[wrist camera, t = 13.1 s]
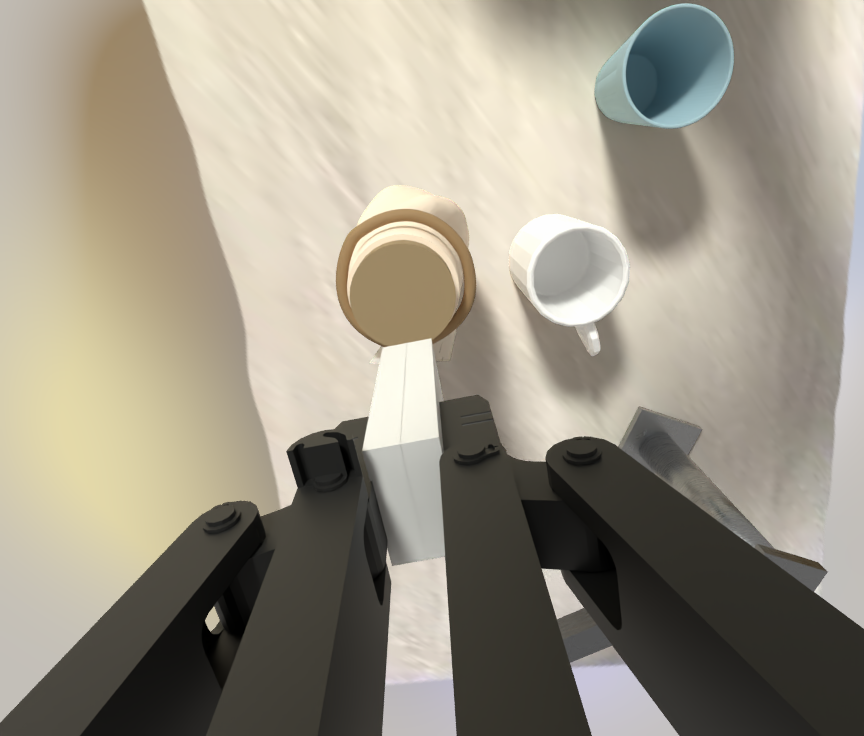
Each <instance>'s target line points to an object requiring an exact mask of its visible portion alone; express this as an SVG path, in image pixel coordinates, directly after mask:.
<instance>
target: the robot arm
mask: <svg viewBox="0 0 864 736" xmlns="http://www.w3.org/2000/svg"><path fill="white" fill-rule="evenodd" d="M286 452H287V455H288V458H289V461H290V465H291V468H292V471H293V474H294V477H295V480H296V484H297V487H298V489H297V491H296V494H295V497H294V499H293V502H292V505H290V506H288V507H285V508H283V509H281V510H278V511H275V512H272V513H270V514H267V515H264V516H261V517H260V514H259V511H258V509H257V506H256V505H255V504H253V503H251V502H248V501H236V502H227V503H223V504H222V505H218V506H215V507H213V508H212V509H211V510H209V511H207V512H206V513H204V514H202V515H201V516H200V517H199V518H197V519H196V520H195V521H194V522H192V524H191V525H190V526H189V527H188V528H187V529H186V530H185V531H184V532H183V533H182V534H181V535H180V536H179V537H178V538H177V539H176V540H175V541H174V542H173V543H172V544H171V546H169V547H168V549H167V550H166V551H165V552H164V553H163V554H162V555H161V556H160V557H159V558H158V559H157V560H156V561H155V562H154V563H153V564H152V565H151V566H150V567H149V568H148V569H147V570H146V571H145V573H144V574H143V575H142V576H141V577H140V578H139V579H138V580H137V581H136V582H135V583H134V584H133V585H132V586H131V587H130V588H129V589H128V590H127V591H126V592H125V593H124V594H123V596H122V597H121V598H120V599H119V600H118V601H117V602H116V603H115V604H114V605H113V606H112V607H111V608H110V609H109V610H108V611H107V612H106V613H105V614H104V615H103V616H102V617H101V618H100V619H99V620H98V622H97V623H96V624H95V625H94V626H93V627H92V628H91V629H90V630H89V631H88V632H87V633H86V634H85V635H84V636H83V637H82V638H81V639H80V640H79V641H78V642H77V644H75V645H74V647H73V648H72V649H71V650H70V651H69V652H68V653H67V654H66V655H65V656H64V657H63V658H62V659H61V660H60V661H59V662H58V663H57V664H56V665H55V667H54V668H52V669H51V670H50V672H49V673H48V674H47V675H46V676H45V677H44V678H43V679H42V680H41V681H40V682H39V683H38V684H37V685H36V686H35V687H34V688H33V689H32V690H31V691H30V692H29V693H28V695H27V696H26V697H25V698H24V699H23V700H22V701H21V702H20V703H19V704H18V705H17V706H16V707H15V708H14V709H13V710H12V711H11V712H10V713H9V714H8V715H7V716H6V717H5V718H4V720H3V721H2V722H1V723H0V736H382V724H383V708H384V692H385V676H386V659H387V643H388V627H389V611H390V594H391V579H390V575H389V571H388V567H387V564H386V554H387V548H388V552H389V556H390V560H391V563H392V566H394V565H400V564H405V563H411V562H417V561H423V560H428V559H434V558H440V557H445V561H446V576H447V592H448V607H449V623H450V638H451V654H452V669H453V683H454V700H455V716H456V731H457V736H592V735H591V732H590V728H589V725H588V722H587V718H586V715H585V712H584V708H583V705H582V702H581V698H580V695H579V692H578V689H577V685H576V682H575V678H574V675H573V672H572V668H571V665H570V662H569V659H568V655H567V652H566V649H565V645H564V642H563V639H562V635H561V632H560V629H559V625H558V622H557V619H556V615H555V612H554V609H553V605H552V602H551V599H550V595H549V592H548V589H547V585H546V582H545V579H544V576H543V572H542V569H541V568H543V569H558V570H561V573H562V576H563V578H564V580H565V582H566V584H567V585H568V586H569V588H570V589H571V590H572V592H573V593H574V594H575V596H576V597H577V599H578V600H579V601H580V603H581V604H582V605H583V607H584V608H585V609H586V611H587V612H588V613H589V615H590V616H591V617H592V619H593V620H594V621H595V623H596V624H597V625H598V627H599V628H600V629H601V631H602V632H603V634H604V635H605V636H606V638H607V639H608V640H609V642H610V643H611V644H612V646H613V647H614V648H615V650H616V651H617V652H618V654H619V655H620V656H621V658H622V659H623V660H624V662H625V663H626V664H627V666H628V667H629V668H630V670H631V671H632V673H633V674H634V675H635V676H636V678H637V679H638V681H639V682H640V683H641V685H642V686H643V687H644V688H645V690H646V691H647V693H648V694H649V695H650V697H651V698H652V699H653V701H654V702H655V703H656V705H657V706H658V708H659V709H660V710H661V712H662V713H663V714H664V716H665V717H666V718H667V720H668V721H669V722H670V724H671V725H672V726H673V728H674V729H675V730H676V732H677V733H678V734H679V736H864V629H863V628H862V627H860V626H859V625H858V624H856V623H855V622H854V621H852V620H851V619H850V618H848V617H847V616H846V615H844V614H843V613H842V612H840V611H839V610H838V609H836V608H835V607H833V606H832V605H831V604H829V603H828V602H827V601H825V600H824V599H823V598H821V597H820V596H819V595H817V594H816V593H815V592H813V591H812V590H811V589H809V588H808V587H806V586H805V585H804V584H802V583H801V582H800V581H798V580H797V579H796V578H794V577H793V576H792V575H790V574H789V573H788V572H786V571H785V570H784V569H782V568H781V567H779V566H778V565H777V564H775V563H774V562H773V561H771V560H770V559H769V558H767V557H766V556H765V555H763V554H762V553H761V552H759V551H758V550H756V549H755V548H754V547H752V546H751V545H750V544H748V543H747V542H746V541H744V540H743V539H742V538H740V537H739V536H738V535H736V534H735V533H734V532H732V531H731V530H729V529H728V528H727V527H725V526H724V525H723V524H721V523H720V522H719V521H717V520H716V519H715V518H713V517H712V516H711V515H709V514H708V513H707V512H705V511H704V510H702V509H701V508H700V507H698V506H697V505H696V504H694V503H693V502H692V501H690V500H689V499H688V498H686V497H685V496H684V495H682V494H681V493H679V492H678V491H677V490H675V489H674V488H673V487H671V486H670V485H669V484H667V483H666V482H665V481H663V480H662V479H661V478H659V477H658V476H657V475H655V474H654V473H652V472H651V471H650V470H648V469H647V468H646V467H644V466H643V465H642V464H640V463H639V462H638V461H636V460H635V459H634V458H632V457H631V456H630V455H628V454H627V453H625V452H624V451H623V450H621V449H620V448H619V447H617V446H616V445H615V444H613V443H611V442H609V441H607V440H604V439H599V438H594V437H585V436H584V437H575V438H573V439H568V440H564V441H562V442H559V443H557V444H555V445H554V446H552V447H551V448H550V449H549V450H548V451H547V454H546V462H532V461H523V460H518V459H515V458H513V457H511V456H509V455H508V454H507V453H506V450H505V448H504V447H503V446H502V444H501V443H500V440H499V436H498V433H497V429H496V426H495V423H494V420H493V416H492V413H491V409H490V406H489V402H488V401H487V400H485V399H483V398H482V397H480V396H479V395H475V396H469V397H464V398H459V399H453V400H448V401H444V399H443V394H442V389H441V384H440V379H439V374H438V369H437V364H436V359H435V354H434V349H433V344H432V339H431V338H430V339H425V340H420V341H415V342H409V343H404V344H399V345H394V346H388V347H383V348H382V353H381V358H380V363H379V368H378V373H377V378H376V383H375V388H374V393H373V398H372V403H371V408H370V413H369V417H364V418H359V419H354V420H348V421H343V422H341V423H340V424H339V425H338V426H337V427H336V428H335V429H333V430H324V431H320V432H317V433H313V434H310V435H308V436H306V437H304V438H301V439H300V440H298V441H297V442H295V443H294V444H292V445H291V446H290V448H289V449H288V450H287V451H286ZM213 606H214V607H215V609H216V612H217V614H218V617H219V619H220V622H219V623H218V624H217V626H216V627H215V628H214V629H213V630H212V631H211V632H210V631H209V629H208V627H207V625H206V623H205V619H206V617H207V615H208V613H209V612H210V610H211V609H212V608H213Z"/></svg>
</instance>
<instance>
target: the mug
mask: <svg viewBox="0 0 864 736" xmlns="http://www.w3.org/2000/svg"><path fill="white" fill-rule="evenodd" d="M509 270H510V273H511V275H512V278H513V281H514V282H515V283H516V285H517V286H518V287H519V289H520V290H521V291H522V292H523V294H524V295H525V296H526V297H527V298H528V300H529V301H530V302H531V303H532V304H533V305H534V307H535V308H536V309H537V310H538V311H539V313H540V314H541V315H542V316H544V317H546V318H547V319H549V320H550V321H552V322H553V323H556V324H560V325H564V326H567V327H574V326H575V328H576V330H577V333H578V335H579V337H580V339H581V340H582V342H583V344H584V346H585V348H586V349H587V351H588V352H589V354H590V355H591V356H594V355H597V354H598V353H599V352H600V340H599V335H598V331H597V328H596V326H595V323H594V322H596V321H599V320H601V319H602V318H604V317H605V316H606V315H608V314H609V313H610V312H612V311H613V310H614V309H615V307H616V306H617V305H618V303H619V302H620V301H621V299H622V298H623V296H624V294H625V291H626V288H627V286H628V283H629V275H630V263H629V260H628V256H627V252H626V249H625V248H624V247H623V245H622V244H621V242H620V241H619V239H618V238H617V237H616V236H615V235H613V234H612V233H611V232H609V231H608V230H606V229H605V228H603V227H600V226H597V225H594V224H591V223H587V222H584V221H581V220H578V219H575V218H572V217H568V216H565V215H561V214H549V215H543V216H541V217H538V218H536V219H533V220H531V221H530V222H529V223H528V224H526V225H525V226H524V227H523V228H521V230H520V231H519V232H518V234H517V235H516V237H515V238H514V240H513V242H512V245H511V249H510V252H509Z"/></svg>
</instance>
